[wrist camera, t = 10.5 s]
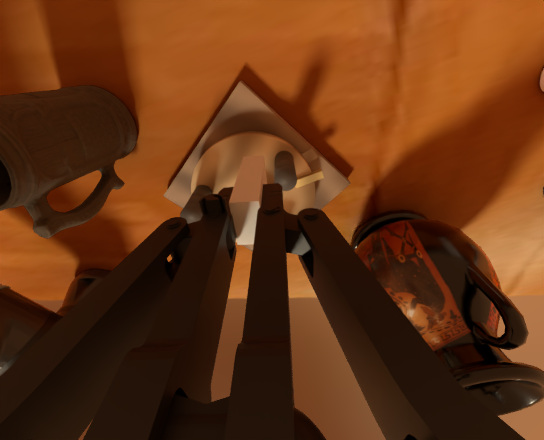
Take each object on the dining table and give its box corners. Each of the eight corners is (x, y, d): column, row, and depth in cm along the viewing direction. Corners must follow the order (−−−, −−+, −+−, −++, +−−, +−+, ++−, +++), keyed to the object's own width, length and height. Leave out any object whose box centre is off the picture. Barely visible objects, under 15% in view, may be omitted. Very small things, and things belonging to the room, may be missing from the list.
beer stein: (44, 99, 35) (-159, 138, 19) (98, 64, 33) (-84, 73, 16) (121, 185, 43) (24, 266, 27) (168, 163, 40) (95, 236, 24)
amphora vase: (407, 282, 57) (497, 437, 34) (321, 267, 54) (355, 423, 31) (469, 208, 45) (675, 369, 22) (363, 183, 42) (469, 337, 19)
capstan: (174, 202, 41) (152, 233, 34) (236, 98, 32) (223, 111, 25) (267, 253, 48) (265, 289, 41) (340, 180, 39) (355, 210, 31)
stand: (264, 252, 52) (264, 259, 50) (167, 190, 43) (162, 196, 42) (347, 178, 42) (351, 184, 40) (241, 79, 33) (239, 81, 31)
